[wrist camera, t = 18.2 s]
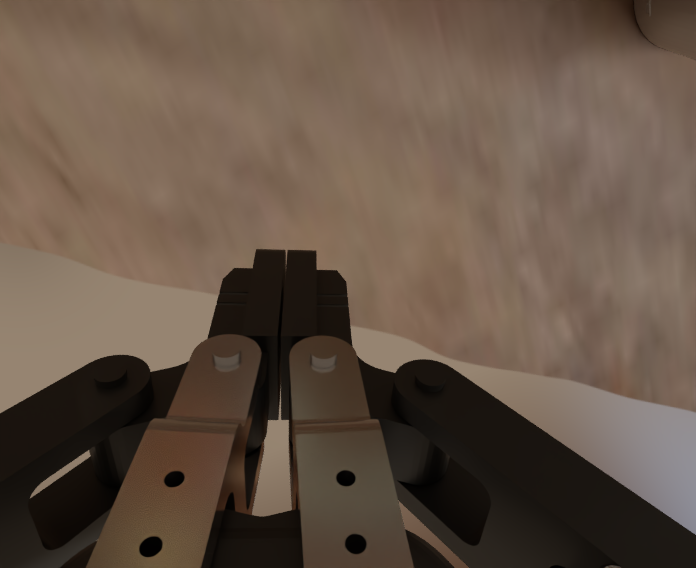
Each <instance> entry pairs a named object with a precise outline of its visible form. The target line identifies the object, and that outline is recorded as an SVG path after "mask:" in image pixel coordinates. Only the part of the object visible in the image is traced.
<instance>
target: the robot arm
mask: <svg viewBox="0 0 696 568" xmlns="http://www.w3.org/2000/svg"><path fill="white" fill-rule="evenodd" d="M634 11H635V16H636V20H637V23H638V25H639V27H640V29H641V31H642V33H643V34H644V36H645V37H646V38H647V39H648V40H649V41H650V42H651V43H653V44H655V45H656V46H658V47H659V48H662V49H665V50H668V51H671V52H674V53H677V54H680V55H683V56H686V57H688V58H691V59H694V60H696V0H634ZM280 389H281V419H282V420H289V465H290V486H291V507H292V510H291V511H287V512H283V513H278V514H274V515H270V516H265V517H259V516H254V515H252V512H253V506H254V501H255V496H256V491H257V485H258V480H259V475H260V470H261V464H262V459H263V454H264V439H265V437H266V433H267V425H268V420H278V417H279V402H280ZM88 450H89V451H90V455H91V457H89V458H88V459H87V460H85V461H84V462H82V463H81V464H79V465H78V466H76V467H75V468H73V469H72V470H71V471H69V472H68V473H66V474H65V475H64V476H62V477H61V478H59V479H58V480H56V481H55V482H53V483H52V484H51V485H49V486H48V487H46V488H45V489H43V490H42V491H40V493H38V494H36V495H35V496H33V497H32V498H30V496H31V494H32V493H33V491H34V490H35V488H36V487H37V486H38V485H39V484H40V483H41V482H43V481H44V480H45V479H47V478H48V477H50V476H51V475H53V474H54V473H56V472H57V471H59V470H60V469H62V468H63V467H64V466H66V465H67V464H69V463H70V462H72V461H73V460H75V459H76V458H77V457H79V456H80V455H82V454H83V453H85V452H86V451H88ZM398 500H399V501H400V502H401V503H402V504H403V505H404V506H405V507H406V508H407V509H408V510H409V511H410V512H411V513H412V514H414V515H415V516H416V517H417V518H418V519H419V520H420V521H421V522H422V523H423V524H424V525H425V526H426V527H427V528H428V529H429V530H430V531H432V533H434V534H435V535H436V536H437V537H438V538H439V539H440V540H441V541H442V542H443V543H444V544H445V545H446V546H447V547H448V548H449V549H451V551H452V552H453V553H455V554H456V555H457V556H458V557H459V558H460V559H461V560H462V561H463V562H464V563H465V564H466V565H467V566H468V567H469V568H696V535H695V534H693V533H692V532H691V531H689V530H687V529H686V528H685V527H683V526H682V525H680V524H679V523H677V522H676V521H674V520H673V519H671V518H670V517H669V516H667V515H666V514H664V513H663V512H661V511H660V510H658V509H657V508H655V507H654V506H652V505H651V504H650V503H648V502H647V501H645V500H644V499H642V498H641V497H639V496H638V495H637V494H635V493H634V492H632V491H630V490H629V489H628V488H626V487H624V486H623V485H622V484H620V483H619V482H618V481H616V480H615V479H613V478H612V477H610V476H609V475H607V474H606V473H604V472H603V471H602V470H600V469H599V468H597V467H596V466H594V465H593V464H591V463H590V462H588V461H587V460H585V459H584V458H583V457H581V456H579V455H578V454H577V453H575V452H574V451H572V450H571V449H569V448H568V447H566V446H565V445H564V444H562V443H561V442H559V441H557V440H556V439H554V438H553V437H552V436H550V435H549V434H548V433H546V432H545V431H543V430H542V429H540V428H539V427H537V426H536V425H534V424H533V423H531V422H530V421H528V420H527V419H526V418H524V417H523V416H521V415H520V414H518V413H517V412H515V411H514V410H513V409H511V408H509V407H508V406H507V405H505V404H504V403H502V402H501V401H499V400H498V399H496V398H495V397H494V396H492V395H491V394H489V393H488V392H486V391H485V390H483V389H482V388H480V387H479V386H477V385H476V384H475V383H473V382H472V381H470V380H469V379H467V378H466V377H464V376H463V375H461V374H460V373H459V372H457V371H456V370H454V369H453V368H451V367H449V366H448V365H446V364H443V363H441V362H437V361H433V360H413V361H410V362H407V363H405V364H403V365H402V366H400V367H399V369H398V370H397V371H396V373H393V372H389V371H385V370H381V369H378V368H375V367H372V366H370V365H368V364H367V363H365V362H364V361H362V360H361V359H360V358H359V357H358V356H357V355H356V352H355V350H354V348H353V347H352V339H351V329H350V318H349V307H348V297H347V286H346V281H345V280H344V279H343V277H342V276H341V275H340V274H339V273H338V271H337V270H317V267H316V251H311V250H288V252H287V265H286V252H285V250H270V249H256V253H255V258H254V264H253V269H252V268H234V269H233V270H232V271H231V272H230V273H229V274H228V275H227V276H226V277H225V278H224V279H223V281H222V285H221V288H220V294H219V296H218V300H217V305H216V308H215V312H214V316H213V319H212V323H211V327H210V331H209V335H208V339H207V340H205V341H203V342H201V343H200V344H199V345H198V346H197V347H196V348H195V349H194V351H193V353H192V355H191V357H190V360H189V361H188V362H186V363H184V364H182V365H179V366H176V367H172V368H168V369H163V370H158V371H153V372H150V369H149V366H148V365H147V364H146V363H145V362H144V361H143V360H141V359H139V358H137V357H134V356H129V355H113V356H107V357H104V358H100V359H97V360H95V361H93V362H91V363H89V364H87V365H85V366H84V367H82V368H80V369H78V370H77V371H75V372H73V373H71V374H69V375H68V376H66V377H64V378H62V379H60V380H59V381H57V382H55V383H53V384H52V385H50V386H48V387H47V388H44V389H43V390H41V391H39V392H37V393H36V394H34V395H32V396H31V397H29V398H27V399H25V400H23V401H21V402H20V403H18V404H16V405H14V406H13V407H11V408H9V409H7V410H5V411H4V412H2V413H0V568H454V567H453V566H452V565H451V564H450V563H449V561H447V560H446V558H445V557H444V556H443V555H442V554H441V553H439V552H438V551H437V550H436V549H435V548H434V547H432V546H431V545H430V544H429V543H428V542H426V541H425V540H423V539H422V538H420V537H419V536H417V535H415V534H414V533H411V532H410V531H407V530H405V527H404V523H403V519H402V515H401V510H400V506H399V502H398ZM96 540H97V541H96Z"/></svg>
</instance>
